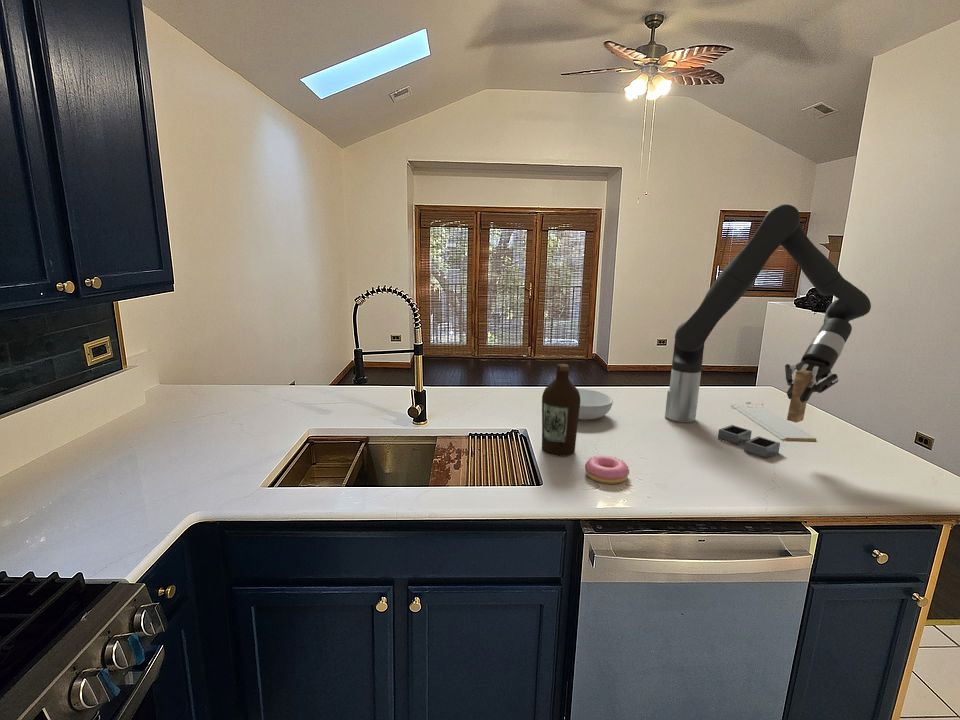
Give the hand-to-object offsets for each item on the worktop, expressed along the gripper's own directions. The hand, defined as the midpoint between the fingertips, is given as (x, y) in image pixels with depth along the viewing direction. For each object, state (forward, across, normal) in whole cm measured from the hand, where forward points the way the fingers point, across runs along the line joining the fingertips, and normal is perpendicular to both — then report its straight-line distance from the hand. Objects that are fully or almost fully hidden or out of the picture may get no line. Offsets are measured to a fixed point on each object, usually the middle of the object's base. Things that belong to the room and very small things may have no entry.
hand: (795, 399), depth 136 cm
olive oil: (+49, -39, -22) cm, 66 cm away
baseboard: (-6, -16, +31) cm, 36 cm away
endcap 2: (+13, -6, +11) cm, 18 cm away
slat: (+3, 0, +6) cm, 7 cm away
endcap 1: (+11, -15, +13) cm, 23 cm away
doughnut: (+49, -20, -23) cm, 58 cm away
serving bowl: (+29, -57, -2) cm, 64 cm away
